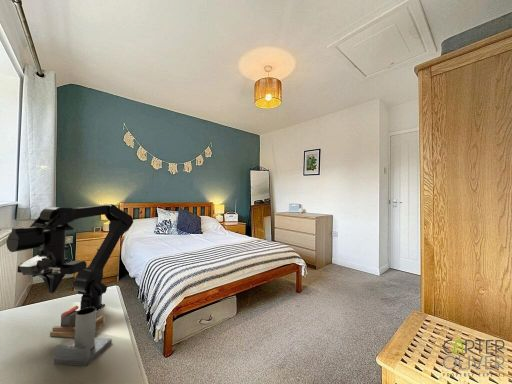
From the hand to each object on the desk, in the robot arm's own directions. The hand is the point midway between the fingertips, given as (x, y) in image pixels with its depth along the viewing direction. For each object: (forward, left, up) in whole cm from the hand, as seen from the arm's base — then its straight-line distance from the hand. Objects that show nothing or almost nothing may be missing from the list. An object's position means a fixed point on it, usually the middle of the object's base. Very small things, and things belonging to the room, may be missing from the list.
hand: (52, 292), depth 72 cm
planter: (+9, +20, -11) cm, 25 cm away
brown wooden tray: (0, +9, -12) cm, 15 cm away
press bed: (+10, +20, -12) cm, 25 cm away
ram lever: (0, +7, -10) cm, 12 cm away
